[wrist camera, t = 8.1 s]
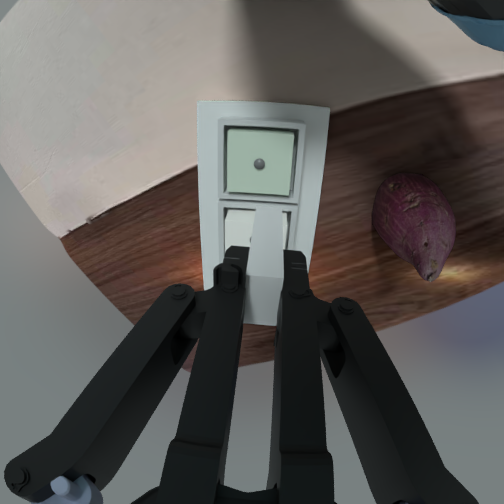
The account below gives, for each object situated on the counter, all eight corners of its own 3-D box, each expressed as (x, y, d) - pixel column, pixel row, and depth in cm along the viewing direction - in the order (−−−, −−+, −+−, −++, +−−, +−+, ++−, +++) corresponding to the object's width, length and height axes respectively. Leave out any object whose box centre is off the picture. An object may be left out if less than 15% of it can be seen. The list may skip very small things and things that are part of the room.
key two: (228, 208, 34) (224, 221, 31) (286, 212, 34) (287, 225, 31) (228, 256, 37) (225, 272, 35) (281, 260, 37) (281, 276, 34)
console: (199, 100, 30) (191, 103, 27) (328, 107, 30) (334, 110, 27) (207, 309, 46) (203, 325, 43) (299, 316, 46) (299, 333, 43)
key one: (231, 126, 30) (227, 131, 28) (292, 129, 30) (294, 135, 28) (230, 182, 34) (226, 192, 31) (288, 185, 34) (289, 196, 31)
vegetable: (374, 235, 41) (375, 324, 31) (364, 171, 35) (369, 255, 25) (443, 229, 37) (465, 317, 26) (444, 163, 30) (482, 245, 20)
